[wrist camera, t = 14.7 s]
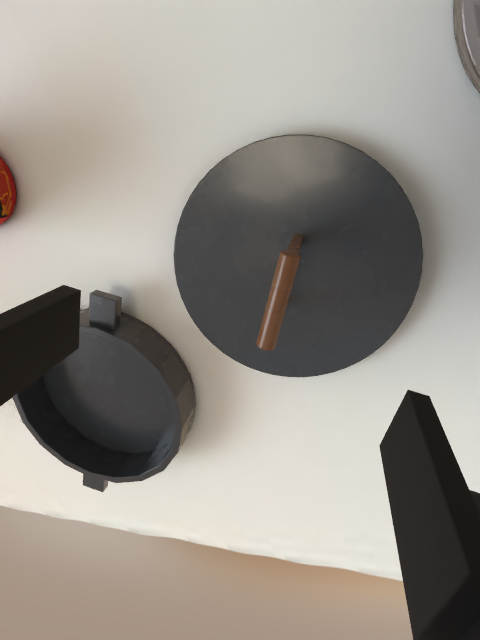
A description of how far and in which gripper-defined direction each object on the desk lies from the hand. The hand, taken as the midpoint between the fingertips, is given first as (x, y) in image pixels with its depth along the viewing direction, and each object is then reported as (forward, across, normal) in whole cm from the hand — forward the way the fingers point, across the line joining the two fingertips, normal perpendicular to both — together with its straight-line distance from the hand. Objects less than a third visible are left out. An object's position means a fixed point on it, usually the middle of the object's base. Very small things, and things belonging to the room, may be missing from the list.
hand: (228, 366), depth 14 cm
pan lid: (+16, +1, 0) cm, 16 cm away
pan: (+16, -13, -17) cm, 27 cm away
